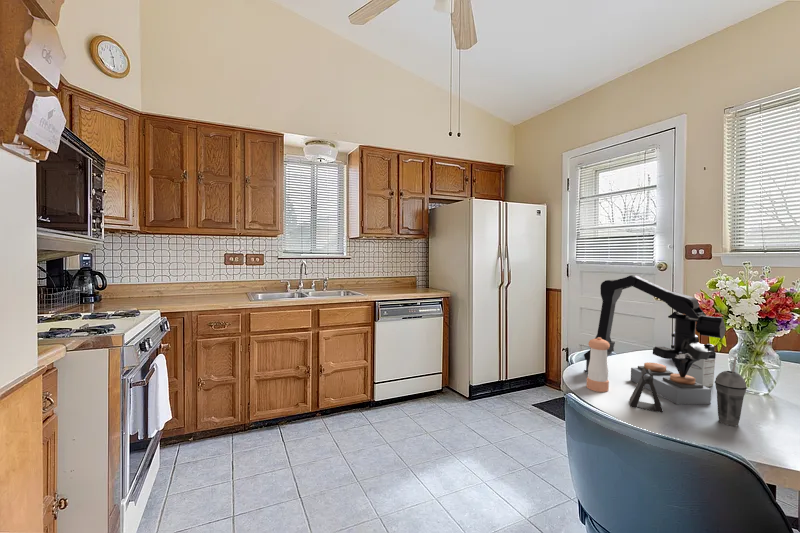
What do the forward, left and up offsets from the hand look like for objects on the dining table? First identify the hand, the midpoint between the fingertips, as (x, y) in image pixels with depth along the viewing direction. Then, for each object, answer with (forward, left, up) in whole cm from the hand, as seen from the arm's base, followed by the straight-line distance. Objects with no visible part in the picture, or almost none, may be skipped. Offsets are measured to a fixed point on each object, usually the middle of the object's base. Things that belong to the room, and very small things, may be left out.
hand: (682, 376), depth 131 cm
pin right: (0, 0, -6) cm, 6 cm away
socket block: (0, +6, -8) cm, 10 cm away
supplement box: (+18, +13, -8) cm, 24 cm away
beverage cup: (-1, -19, -8) cm, 20 cm away
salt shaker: (-25, +10, -8) cm, 28 cm away
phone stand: (-18, -7, -8) cm, 21 cm away
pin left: (0, +13, -6) cm, 14 cm away
